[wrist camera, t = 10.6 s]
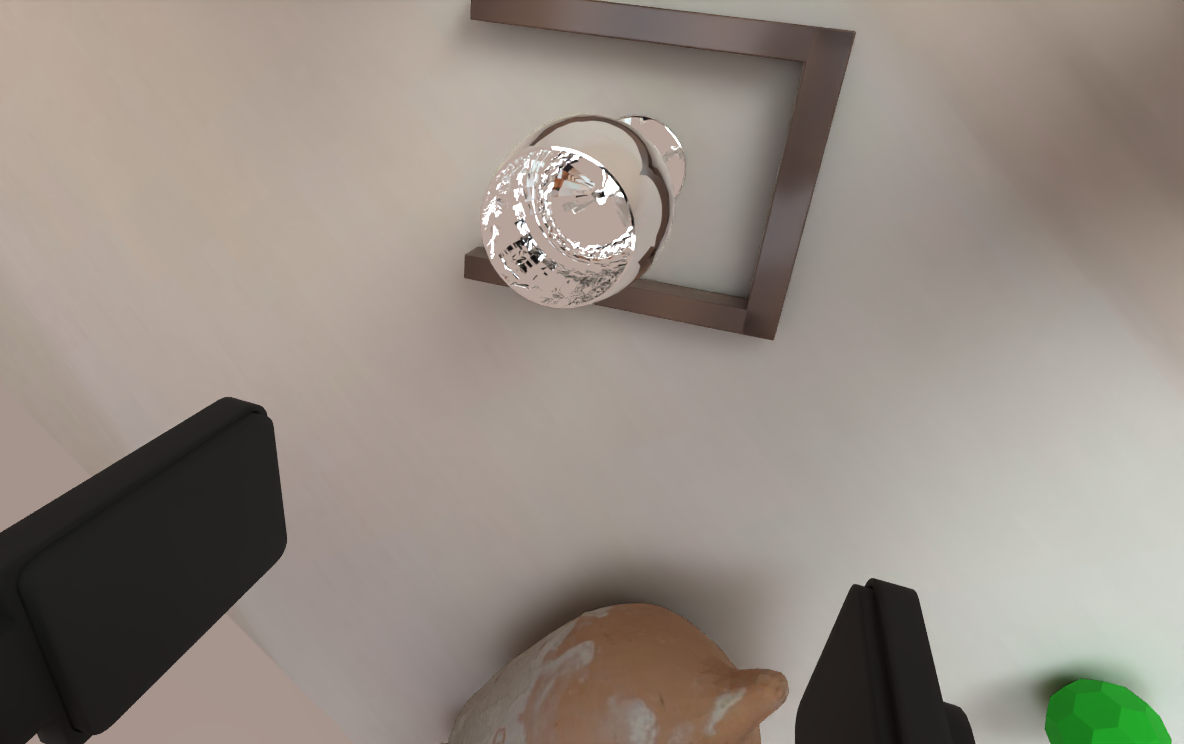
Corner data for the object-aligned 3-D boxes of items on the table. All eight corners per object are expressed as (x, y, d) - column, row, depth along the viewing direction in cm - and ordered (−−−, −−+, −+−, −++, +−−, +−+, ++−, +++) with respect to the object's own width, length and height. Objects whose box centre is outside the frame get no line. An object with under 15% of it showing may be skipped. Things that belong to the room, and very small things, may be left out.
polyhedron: (1046, 730, 36) (1081, 818, 32) (1019, 668, 35) (1052, 750, 31) (1153, 719, 34) (1205, 810, 30) (1129, 652, 33) (1180, 738, 29)
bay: (852, 32, 25) (856, 31, 23) (773, 328, 30) (773, 341, 29) (485, -12, 27) (470, -15, 26) (476, 269, 33) (464, 278, 32)
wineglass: (552, 135, 29) (427, 178, 19) (669, 73, 27) (600, 83, 16) (606, 251, 31) (519, 351, 20) (721, 202, 29) (688, 286, 18)
